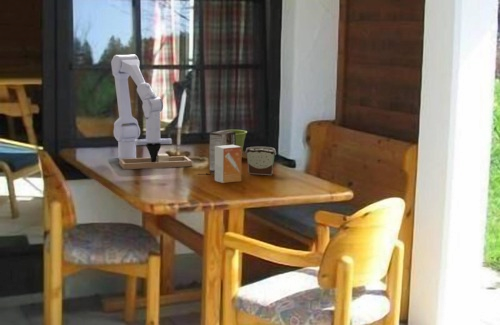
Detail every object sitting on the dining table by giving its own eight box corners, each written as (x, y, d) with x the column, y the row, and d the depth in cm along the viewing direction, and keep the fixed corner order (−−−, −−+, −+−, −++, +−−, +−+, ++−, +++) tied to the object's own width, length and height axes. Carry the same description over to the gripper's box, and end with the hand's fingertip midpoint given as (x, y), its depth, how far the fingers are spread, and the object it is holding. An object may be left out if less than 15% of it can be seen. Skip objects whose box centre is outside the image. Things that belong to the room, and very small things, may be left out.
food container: (280, 172, 350) (280, 147, 348) (275, 175, 344) (275, 149, 342) (250, 170, 354) (250, 145, 352) (245, 173, 348) (245, 147, 346)
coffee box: (223, 170, 354) (223, 129, 351) (236, 172, 350) (236, 131, 348) (208, 173, 347) (208, 132, 344) (222, 175, 343) (222, 133, 340)
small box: (223, 183, 328) (223, 148, 326) (214, 180, 333) (214, 146, 331) (241, 181, 332) (242, 146, 330) (232, 178, 338) (232, 144, 335)
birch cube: (156, 163, 359) (156, 154, 358) (166, 163, 360) (166, 153, 360) (158, 165, 355) (158, 155, 355) (168, 165, 356) (168, 155, 356)
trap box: (119, 167, 359) (119, 158, 359) (185, 164, 367) (185, 156, 366) (123, 172, 348) (123, 163, 347) (191, 169, 355) (191, 160, 355)
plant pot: (214, 159, 380) (214, 132, 378) (226, 154, 391) (226, 129, 389) (240, 160, 376) (240, 134, 374) (251, 156, 386) (251, 130, 385)
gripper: (136, 130, 349) (136, 164, 351) (173, 129, 352) (173, 163, 355) (133, 128, 355) (134, 161, 358) (169, 126, 359) (170, 160, 361)
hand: (153, 162), depth 357 cm, fingers closed
